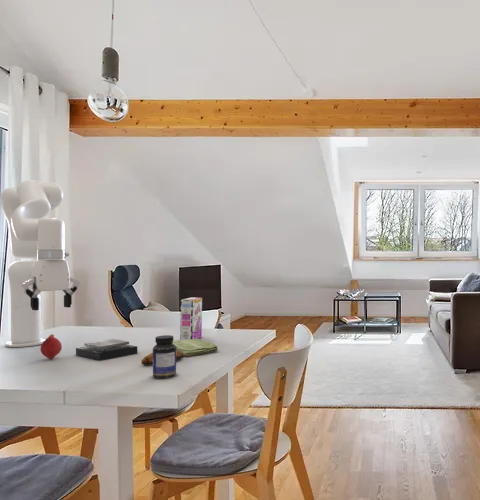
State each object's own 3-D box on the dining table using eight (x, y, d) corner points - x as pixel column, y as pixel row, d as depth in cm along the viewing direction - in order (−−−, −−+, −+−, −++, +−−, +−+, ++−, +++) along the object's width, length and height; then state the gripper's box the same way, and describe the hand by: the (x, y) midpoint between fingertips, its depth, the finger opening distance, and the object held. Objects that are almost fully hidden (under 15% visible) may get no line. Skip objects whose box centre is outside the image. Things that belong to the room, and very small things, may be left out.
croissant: (147, 368, 142) (147, 351, 142) (136, 364, 147) (136, 348, 147) (188, 360, 152) (188, 344, 152) (177, 357, 157) (177, 342, 157)
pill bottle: (156, 373, 136) (156, 334, 136) (178, 373, 136) (178, 334, 136) (149, 379, 129) (149, 338, 130) (172, 378, 130) (172, 338, 130)
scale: (75, 355, 161) (75, 346, 161) (113, 348, 172) (113, 340, 172) (99, 360, 152) (99, 351, 152) (137, 353, 163) (137, 345, 163)
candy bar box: (192, 342, 183) (192, 299, 183) (179, 342, 183) (179, 299, 183) (202, 337, 194) (202, 297, 194) (190, 337, 194) (190, 297, 194)
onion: (51, 361, 151) (51, 336, 151) (36, 360, 153) (36, 335, 153) (65, 357, 157) (65, 333, 157) (50, 356, 158) (50, 332, 158)
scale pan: (84, 345, 161) (84, 343, 161) (113, 341, 169) (112, 338, 169) (100, 348, 155) (100, 346, 155) (129, 343, 163) (129, 341, 163)
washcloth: (184, 358, 156) (184, 348, 156) (162, 350, 169) (162, 340, 169) (220, 352, 165) (220, 342, 165) (197, 345, 178) (197, 336, 178)
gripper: (73, 256, 165) (73, 305, 164) (16, 256, 150) (16, 310, 150) (84, 255, 160) (84, 306, 160) (26, 255, 146) (27, 311, 146)
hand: (51, 308), depth 155 cm, fingers open, 9 cm apart
